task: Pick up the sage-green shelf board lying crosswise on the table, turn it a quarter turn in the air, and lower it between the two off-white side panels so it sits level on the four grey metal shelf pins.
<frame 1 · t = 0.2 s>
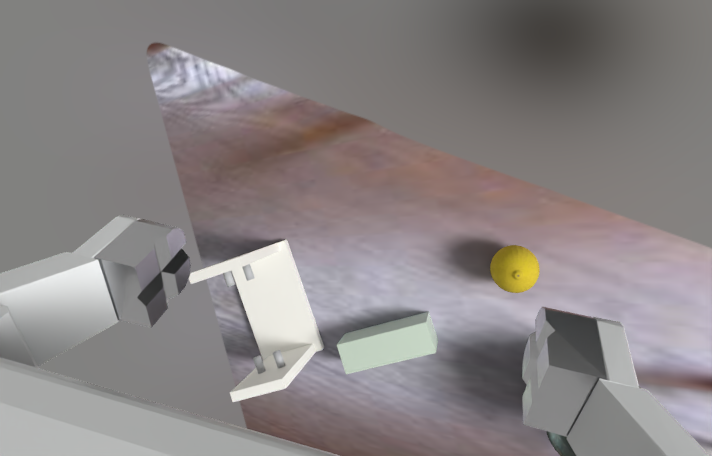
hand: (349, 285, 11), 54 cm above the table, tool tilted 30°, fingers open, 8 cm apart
lemon: (511, 262, 63), on the table
mug: (579, 389, 62), on the table
shelf board: (390, 336, 67), on the table
shelf unit: (277, 302, 70), on the table
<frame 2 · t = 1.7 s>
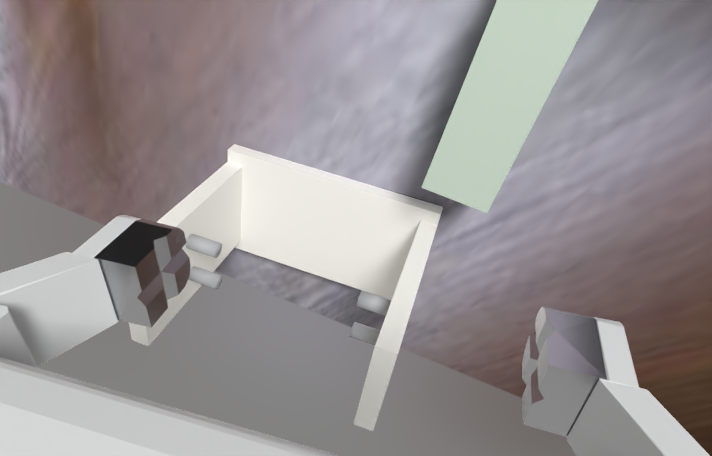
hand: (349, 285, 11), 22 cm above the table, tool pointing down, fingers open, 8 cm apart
shelf board: (503, 76, 29), on the table
shelf unit: (327, 224, 38), on the table
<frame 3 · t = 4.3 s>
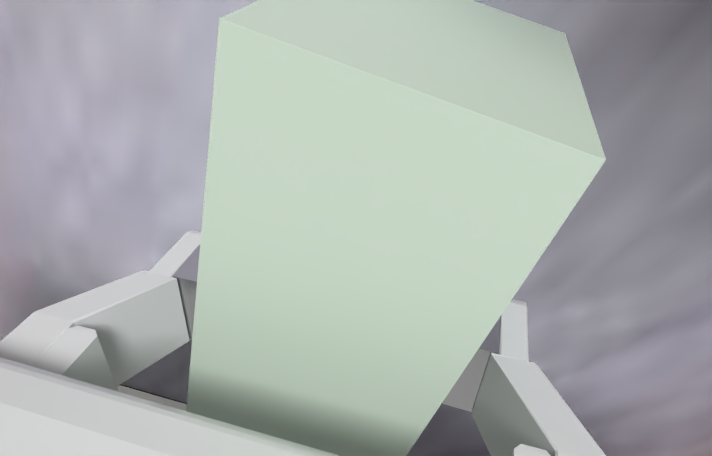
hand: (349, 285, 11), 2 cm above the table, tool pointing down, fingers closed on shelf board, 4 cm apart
shelf board: (366, 242, 12), on the table, touching gripper
shelf unit: (151, 450, 22), on the table
when the fingers open (11 cm above the table, at t = 11.0 s): shelf board stays where it is, resting on shelf unit.
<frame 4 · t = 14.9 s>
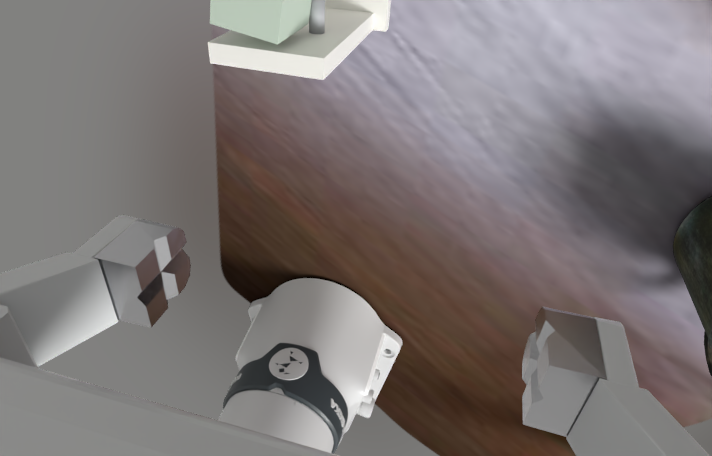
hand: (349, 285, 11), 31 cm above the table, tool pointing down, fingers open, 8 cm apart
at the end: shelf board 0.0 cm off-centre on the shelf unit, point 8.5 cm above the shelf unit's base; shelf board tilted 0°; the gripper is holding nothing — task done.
